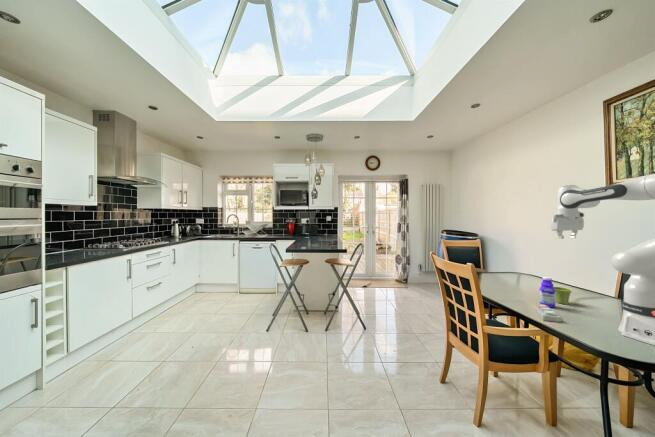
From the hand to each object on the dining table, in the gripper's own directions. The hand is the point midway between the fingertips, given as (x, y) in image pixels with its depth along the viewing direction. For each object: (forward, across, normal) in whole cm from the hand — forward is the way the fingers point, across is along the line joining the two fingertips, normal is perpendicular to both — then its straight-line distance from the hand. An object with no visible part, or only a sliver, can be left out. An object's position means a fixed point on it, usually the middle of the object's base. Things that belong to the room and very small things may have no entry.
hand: (567, 238), depth 148 cm
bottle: (+42, -3, +8) cm, 43 cm away
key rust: (+39, -16, +2) cm, 42 cm away
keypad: (+41, -19, -2) cm, 46 cm away
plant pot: (+42, +11, +10) cm, 44 cm away
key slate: (+39, -19, -2) cm, 44 cm away
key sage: (+39, -22, -6) cm, 45 cm away
